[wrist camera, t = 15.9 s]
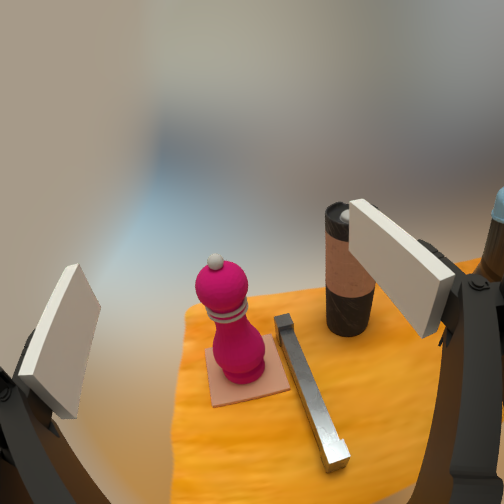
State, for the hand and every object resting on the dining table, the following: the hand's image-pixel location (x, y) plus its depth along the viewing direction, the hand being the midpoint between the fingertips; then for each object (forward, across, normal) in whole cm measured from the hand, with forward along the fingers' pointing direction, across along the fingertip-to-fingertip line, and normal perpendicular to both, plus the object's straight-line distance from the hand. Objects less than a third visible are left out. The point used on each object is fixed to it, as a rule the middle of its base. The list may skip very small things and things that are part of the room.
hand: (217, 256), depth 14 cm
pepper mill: (+16, -1, -30) cm, 34 cm away
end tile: (+16, -1, -30) cm, 34 cm away
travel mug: (+20, +18, -30) cm, 40 cm away
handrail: (+9, +7, -30) cm, 32 cm away
